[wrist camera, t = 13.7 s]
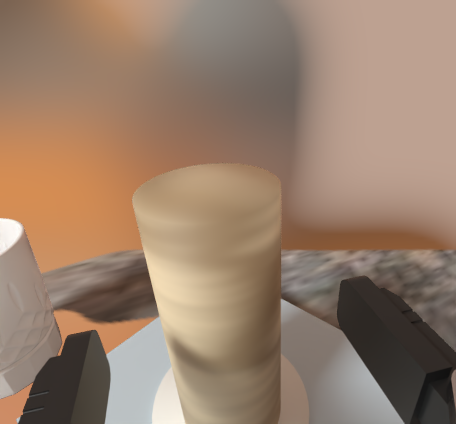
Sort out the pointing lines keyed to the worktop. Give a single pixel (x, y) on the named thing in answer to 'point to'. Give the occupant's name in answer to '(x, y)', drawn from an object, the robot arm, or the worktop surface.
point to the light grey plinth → (290, 378)
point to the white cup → (23, 312)
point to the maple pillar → (217, 287)
